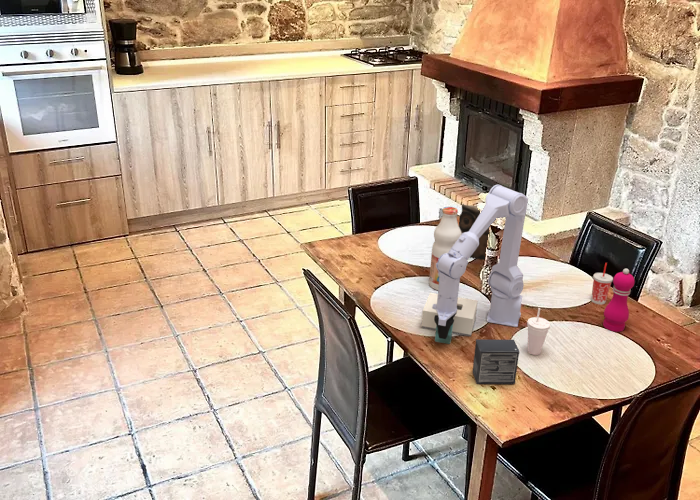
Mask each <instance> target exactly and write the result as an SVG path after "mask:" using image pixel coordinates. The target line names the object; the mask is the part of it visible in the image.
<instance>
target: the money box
mask: <svg viewBox="0 0 700 500" xmlns="http://www.w3.org/2000/svg"><path fill="white" fill-rule="evenodd" d="M437 298H438V293H433V292H429V295H428V297H427V299H426V302H425V304H424V307H423V309H422V314H421V315H422V316H421V324H420V325H421V326H420V327H421V329H427V330H431V331H432V330H433V331H436V323H435V321H434V317H435V315H438V314H437V311H436V310H435V309H433V308H432V306H433V304H437ZM478 303H479V300H477V299H472V298H464V297H459V296H458V300H457V313H456V315H455V316H454V318H453V319H454V323H453V329H452V334H454V335H461V336H466V337H472V334H473V329H474V326H475V323H476V322H475V321H476V318H477V310H478Z"/></svg>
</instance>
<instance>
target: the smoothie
mask: <svg viewBox="0 0 700 500" xmlns="http://www.w3.org/2000/svg"><path fill="white" fill-rule="evenodd" d="M540 314H541V308H539V307H538V309H537V315H536V316H535V317H534V316H533V317H530V318H528V320H527V322H526V326H527V353H528V354H530V355H532V356H538V355H541V353H542V350H543V346H544V344H545V340H546V337H547V335H548V331H549V330H550V329H551V322H550V321H549V320H547V319H546V318H543V317H540Z"/></svg>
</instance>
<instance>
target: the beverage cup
mask: <svg viewBox="0 0 700 500" xmlns="http://www.w3.org/2000/svg"><path fill="white" fill-rule="evenodd" d="M607 265H608V262H605V264H604V267H603V272H595V273H594V274H593V276H592V277H593V282H592V290H591V296H590V301H591V302H592V303H593V304H596V305H604V304H606V303H607V298H608V295H609V291H610V289H611V285H612V283H613V278H614V276H612V275H610V274H608V273H606V269H607Z"/></svg>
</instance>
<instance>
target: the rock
mask: <svg viewBox="0 0 700 500" xmlns="http://www.w3.org/2000/svg"><path fill="white" fill-rule="evenodd" d="M477 206H478V205H473V204H471V205H470V204H469V205H468V204H464V203H462V204H461V213H460V214H459V218H458V219H459V221H458V226H459V228H460V230H461V232H462V233H464V232H469V230H470V229H471V227H472V225H473V224H474V222H475V221H476V219H477V218H478V216H479V214H480V211H479V210H478V208H477ZM489 227H490V226H489ZM488 234H489V228H488V229H487V230H486V231H485V232H484V233H483V234H482V235H481V237H480V238H479V246H478V247H477V248H476V250H475V251H474V253H473V254H472V255H471V257H470V258H469V259H474V260H476V259H477V260H481V261H483V260H485V252H486V247H487V240H488Z"/></svg>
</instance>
